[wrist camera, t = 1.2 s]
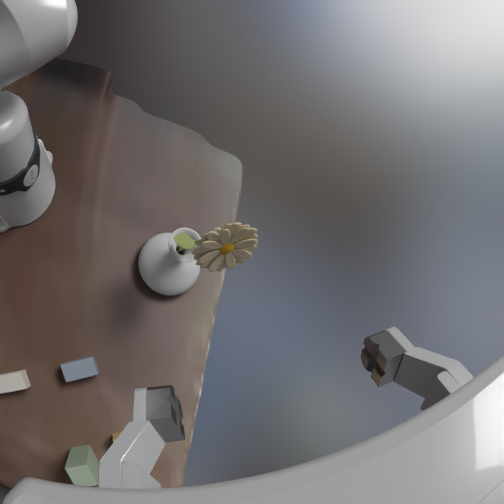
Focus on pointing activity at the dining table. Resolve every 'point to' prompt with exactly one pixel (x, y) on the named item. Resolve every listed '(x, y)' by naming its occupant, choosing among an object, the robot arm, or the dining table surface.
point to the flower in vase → (193, 255)
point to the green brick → (82, 466)
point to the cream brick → (14, 381)
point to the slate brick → (79, 368)
